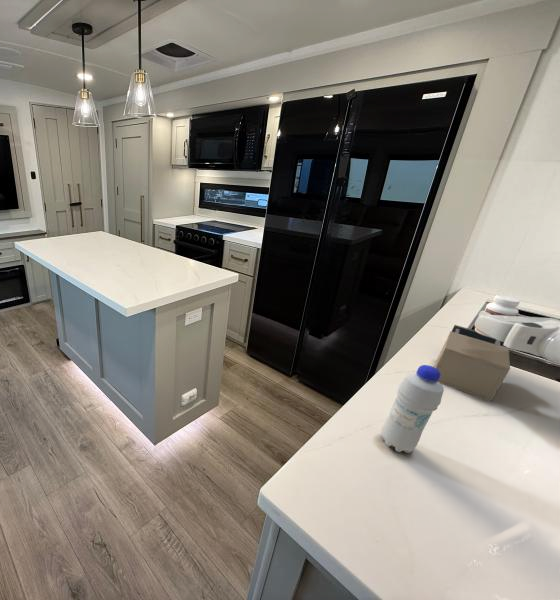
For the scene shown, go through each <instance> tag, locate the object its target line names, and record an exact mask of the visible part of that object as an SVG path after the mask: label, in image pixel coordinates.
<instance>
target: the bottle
mask: <svg viewBox="0 0 560 600" xmlns="http://www.w3.org/2000/svg"><path fill="white" fill-rule="evenodd" d="M439 378H440V372H439V370H437V369H436V368H434V366H432V365H428V364H422V365H420V366H419V367H418V368H417V369H416V372H410V373H407V374H406V376H405V377H404V378H403V380H402V381H401V382H400V384H399V385H398V389H397V391H396V393H397V394H396V395H397V396H396V398H395V400H394V403H393V405H392V407H391V409H390V412H389V414H388V416H387V418H386V419H385V421H384V422H383V424H382V426H381V430H380V438H381V440H383V441H384V444H385V445H386V446H387V447H388V448H389V447H391V446H393V447H394V450H395V452H398V453H401V452H404V453H406V454H408V453H411V452H413V451H414V450H415V448H416V447H418V444H419V442H420V439H421V436H422V434H423V432H424V430H425V427H426V425H427V424H428V422H429V420H430V418H431V417H432V414H433V413H434V412H435V411H437V410H438V408H439V406H440V405H441V402H442V398H443V396H444V391H445V389H444V386H443V385H442V383H440V382H438V380H439Z"/></svg>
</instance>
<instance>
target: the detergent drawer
mask: <svg viewBox="0 0 560 600" xmlns="http://www.w3.org/2000/svg"><path fill="white" fill-rule="evenodd" d="M451 332H455V333H458V334H461V335H465V336H468V337H472V338H475V339H479V340H482V341H485V342H489V343H492V344H496V345H499V346H502V344H503V342H501V341H498V340H496V339H494V338H490V337H486V336H484V335H481V334H479V333H477V332H476V331H475V329H471V328H467V327H464V326H461V325H458V324H454V325H453V326H452V329H451Z"/></svg>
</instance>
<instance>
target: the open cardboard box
mask: <svg viewBox="0 0 560 600" xmlns="http://www.w3.org/2000/svg"><path fill="white" fill-rule="evenodd" d="M451 331H452V330H451ZM451 331H449V333H448V335H447V338H446V340H445V342H444V344H443V346H442V347H441V350H440V352H439V354H438V356H437V358H436V360H435V363H434V366H433V367H434V368H436V369H437V370H439V372H440V378H439V380H438V382H439V383H440V384H443V385H445V386H448V387H451V388H453V389H456V390H459V391H461V392H464V393H467V394H469V395H471V396H474V397H476V398H480V399H482V400H485V401H488V402H492V399H493V398H494V396H495V395H496V394H497V392H498V390H499V388H500V387H501V385H502V384H503V381H504V380H505V378H506V377H507V375H508V374H509V372H510V370H511V363H510V362H511V361H510V348H507V347H505V346H504V345H500V346H499V345H496V344H492V343H489V342H485V341H482V340H479V339H475V338H472V337H468V336H465V335H461V334H458V333H455V332H451Z"/></svg>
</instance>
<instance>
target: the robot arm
mask: <svg viewBox="0 0 560 600" xmlns="http://www.w3.org/2000/svg"><path fill="white" fill-rule="evenodd" d="M473 326H474V328H475V327H476V328H477V329H478V330H480V331H481V332H483V333H485V334H487V335H488V336H490V337H492V338H494V339H496V340H498V341H501V342H502V346H503V347H506V348H509V350H513V351H519V352H524V353H528V354H531V355H534V356H537V357H541V358H543V359H545V360H546V361H549V362H550V363H553V364H557V365H560V319H558V318H554V317H540V316H539V317H538V316H527V315H524V314H520V313H518V315H517V316H503V315H492V313H490V312H488V311H484V310H480V311H479V313H478V315H477V317H476V319H475V322H474V325H473Z"/></svg>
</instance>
